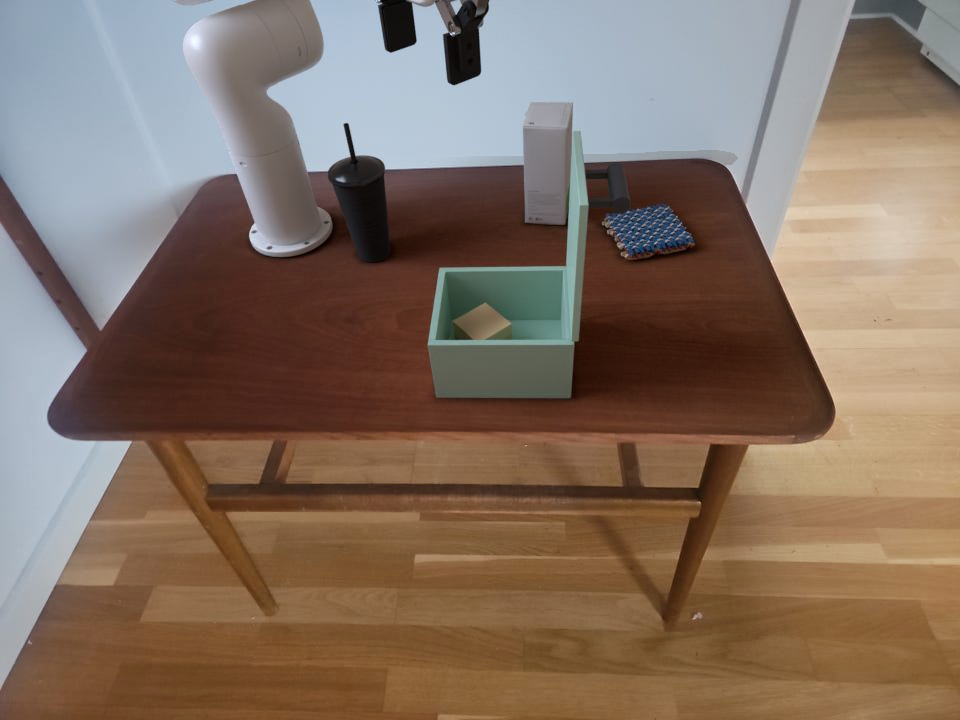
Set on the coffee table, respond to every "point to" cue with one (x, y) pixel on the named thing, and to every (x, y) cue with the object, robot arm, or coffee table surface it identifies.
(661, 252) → the woven mat
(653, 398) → the coffee table surface
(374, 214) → the drinking cup
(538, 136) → the cosmetic box
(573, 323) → the compartment lid
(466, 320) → the maple block
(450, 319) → the compartment
